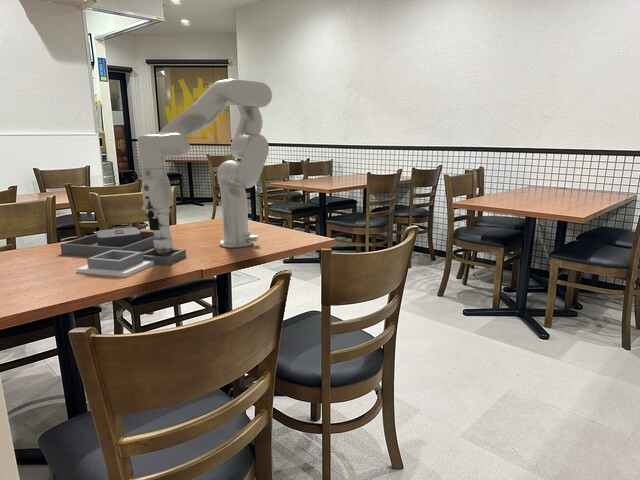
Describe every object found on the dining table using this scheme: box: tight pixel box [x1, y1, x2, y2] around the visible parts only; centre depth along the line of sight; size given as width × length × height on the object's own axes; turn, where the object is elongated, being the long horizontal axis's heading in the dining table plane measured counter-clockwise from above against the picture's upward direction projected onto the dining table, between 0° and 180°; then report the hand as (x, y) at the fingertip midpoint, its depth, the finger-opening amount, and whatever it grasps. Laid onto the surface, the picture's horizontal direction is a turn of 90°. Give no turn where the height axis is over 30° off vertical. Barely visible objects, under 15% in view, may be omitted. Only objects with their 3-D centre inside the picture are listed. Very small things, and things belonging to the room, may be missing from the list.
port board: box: [76, 250, 155, 278], centre depth 141 cm, size 18×14×4 cm
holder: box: [142, 247, 187, 266], centre depth 150 cm, size 12×11×2 cm
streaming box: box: [95, 226, 141, 248], centre depth 167 cm, size 14×14×5 cm
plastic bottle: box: [151, 206, 175, 253], centre depth 148 cm, size 6×7×20 cm
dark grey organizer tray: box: [59, 230, 154, 257], centre depth 167 cm, size 26×26×4 cm
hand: (161, 227), depth 148 cm, fingers closed on plastic bottle, 6 cm apart
